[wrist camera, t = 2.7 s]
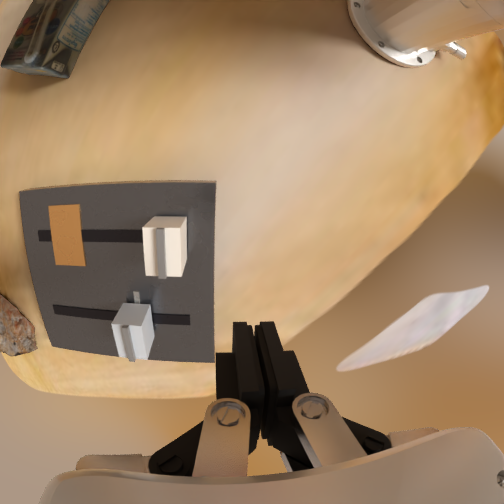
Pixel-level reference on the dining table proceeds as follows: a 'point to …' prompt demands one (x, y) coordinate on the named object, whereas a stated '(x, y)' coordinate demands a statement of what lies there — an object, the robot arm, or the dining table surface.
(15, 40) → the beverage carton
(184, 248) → the fader cream
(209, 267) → the console
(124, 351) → the white block
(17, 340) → the rock
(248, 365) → the robot arm
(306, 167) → the dining table surface
